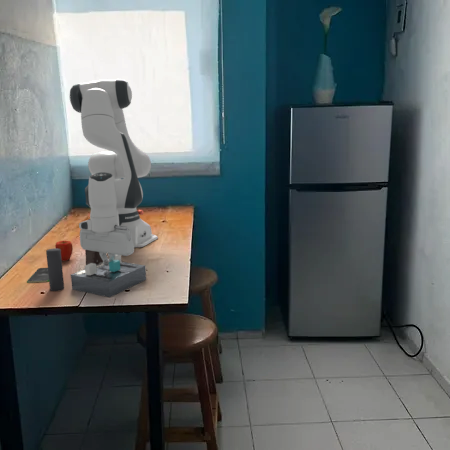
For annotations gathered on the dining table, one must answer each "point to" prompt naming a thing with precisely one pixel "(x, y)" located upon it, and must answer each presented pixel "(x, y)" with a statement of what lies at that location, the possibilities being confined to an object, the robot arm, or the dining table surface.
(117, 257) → the slider
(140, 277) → the panel
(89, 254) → the box
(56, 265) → the post
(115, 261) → the slider mid
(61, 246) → the apple
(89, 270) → the slider
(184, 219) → the dining table surface
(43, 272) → the smartphone
